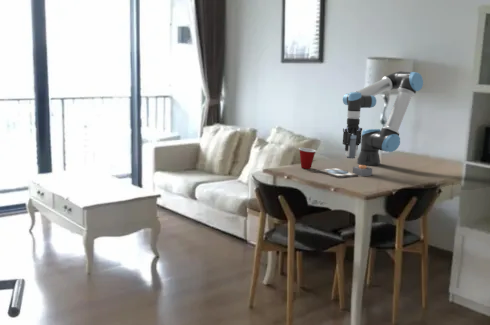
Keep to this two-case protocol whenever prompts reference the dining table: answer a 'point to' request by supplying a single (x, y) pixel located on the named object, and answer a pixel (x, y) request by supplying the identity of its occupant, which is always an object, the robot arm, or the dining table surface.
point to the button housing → (362, 171)
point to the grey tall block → (352, 146)
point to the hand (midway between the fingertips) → (350, 155)
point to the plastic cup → (306, 157)
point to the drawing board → (337, 173)
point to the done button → (362, 166)
